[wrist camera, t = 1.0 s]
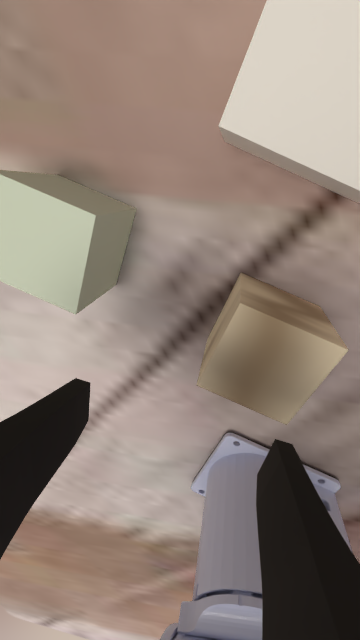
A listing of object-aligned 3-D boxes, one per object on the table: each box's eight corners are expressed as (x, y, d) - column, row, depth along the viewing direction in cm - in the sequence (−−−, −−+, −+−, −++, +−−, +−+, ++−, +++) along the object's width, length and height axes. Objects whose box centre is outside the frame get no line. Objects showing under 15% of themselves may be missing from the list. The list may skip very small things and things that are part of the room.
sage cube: (137, 208, 16) (95, 215, 11) (116, 284, 18) (75, 314, 14) (58, 175, 16) (-13, 169, 12) (48, 254, 18) (-14, 274, 14)
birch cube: (319, 306, 16) (348, 349, 12) (276, 368, 18) (286, 424, 14) (240, 272, 16) (240, 302, 12) (207, 338, 18) (196, 385, 14)
